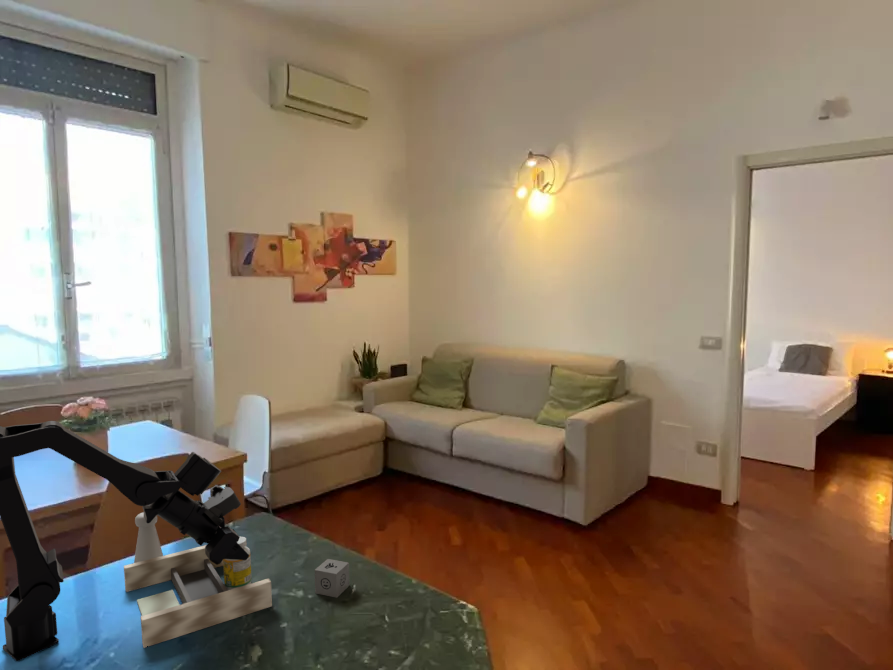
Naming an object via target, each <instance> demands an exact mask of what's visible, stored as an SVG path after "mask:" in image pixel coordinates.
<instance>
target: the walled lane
mask: <svg viewBox="0 0 893 670" xmlns="http://www.w3.org/2000/svg"><path fill="white" fill-rule="evenodd" d="M206 545H207V544H204V545H200V546H197V547H193V548H190V549H185V550H181V551H177V552H173V553H169V554H166V555H163V556H161V557H157V558H153V559H149V560H145V561H141V562H137V563H134V562H133V563H130V564H125V565H123V573H124V575H123V576H124V590H125V592H126V593H128V592H132V591H135V590H139V589H143V588H146V587H150V586H154V585H157V584H161V583H165V582H169V581H171V582H172V584H173V587H174V589H175V590H176V592H177V595H178V596H179V599H180V601H181V603H182V604H180V602H179V601H178V599H177V598H178V597H177V596H176V594H175V592H174V590H173V589H170V590H167V591H162V592H159V593H156V594H153V595H149V596H145V597H142V598H138V599H136V603H137V605H138V606H137V607H138V609H139V612H140V615H141V616H140V628H141V640H142V641H141V643H142V646H143V648H144V649H145V648H147V646H148V647H150V646H154V645H158V644H160V643H162V642H166V641H170V640H172V639H175V638H179V637H181V636H185V635H188V634H190V633H194V632H197V631H200V630H203V629H207V628H210V627H213V626H215V625H218V624H222V623H224V622H228V621H230V620H234V619H237V618H240V617H243V616H246V615H249V614H252V613H255V612H259V611H261V610H265V609H267V608H270V607H273V601H272V599H273V598H272V597H273V595H272V581H271V579H270V578H269V577H268V578H265V579H262V580H258V581H256V582H251V584H248V585H245V586H241V587H238V588H235V589H231V590H228V589H227V588H226V586H225V585H224V580H222V579H221V577H220V575H219V574H218V571H217V570H216V568H220V567H224V566H223V560H222V562H221V563H220V564H218V565H216V564H215V563H213V562H212V561H210V560H209V558H208V557H207V555H206V554H205V547H206Z"/></svg>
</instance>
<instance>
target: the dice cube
mask: <svg viewBox="0 0 893 670" xmlns="http://www.w3.org/2000/svg"><path fill="white" fill-rule="evenodd" d="M349 586H350V563H349V562H347V561H341V560H337V559H331V558H327V559H326V560H325V561H323V562H322V563H321V564H320V565H319V566H317V567H316V568H315V569H314V593H315V594H317V595H322V596H327V597H331V598H336V599H338V597H339V596H340V595H341V594H342V593H344V592H345V591H346V590H347V588H348V587H349Z"/></svg>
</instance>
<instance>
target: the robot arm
mask: <svg viewBox="0 0 893 670" xmlns="http://www.w3.org/2000/svg"><path fill="white" fill-rule="evenodd" d="M62 424H63V423H61V422H59V421H56V420H49V421H44V422H39V423H28V424H15V425H9V426H1V425H0V520H1V522H2V526H3V529H4V532H5V534H6V537H7V539H8V543H9V545H10V548H11V551H12V554H13V556H14V559H15V563H16V573H17V583H18V584H17V585H16V586H15V588H13V590H11V592H9V594H8V595H7V597H6V614H5V616H4V617H3V623H4V634H5V635H4V636H5V644H3V645H2V650H3V651H4V652H5V653H6V654H8V655H9V656H10V657H11V658H12V659H13V660H14V661H15V662H19V661H22V660H25V659H26V658H28V657H30V656H33V655H35V654H37V653H39V652H41V651H44V650H45V649H48V648H50V647H53V646H55V645H57V644H58V643H60V639H59V638H57V637H56V636H57V635H58V626H57V625H58V624H57V614H56V612H54V611H53V606H52V605H51V604H53V603H54V602H55V601H56V600H57V599H58V597H59V595H60V594H61V583H64V582H65V580H64V573H63V571H64V570H63V566H62V565H61V563H59V561H58V559H57V552H56V548H53V549H51V550H48V551H46V549H44V548H43V546H42V545H41V542H40V539H39V537H38V534H37V531H36V529H35V525H34V523H33V520H32V517H31V514H30V512H29V509H28V506H27V503H26V500H25V497H24V494H23V491H22V489H21V486H20V483H19V480H18V477H17V475H16V467H15V466H16V465H15V458H17V457H20V456H24V455H27V454H28V455H29V454H30V453H33V452H37V451H41V450H45V449H50V450H52V451H54V452H55V453H58V454H59V455H61V456H63V457H64V458H67V459H69V460H71V461H72V462H74V463H76V464H77V465H79V466H81V467H82V468H85V469H87V470H89V471H90V472H92V473H94V474H95V475H98V476H99V477H101V478H103V479H104V480H106V481H108V483H110V484H112V485H113V486H114V488H115V489H117V490H118V491H119V492H120V493H121V494H122V495H123V496H124V497H126V498H127V499H128V500H129V501H130V502H132V503H133V504H134V505H136V506H138V507H141V508H142V509H143V512H144V518H145V521H146V523H150V522H151V521H152V520H153V519H154V518H155V517H156V515H157V517H159V518H161V519H162V520H164V521H165V522H166V523H169V524H170V525H172V526H173V527H175V528H176V529H178V531H179V533H180V534H182V535H183V536H185V535H187V536H189V537H190V538H192V539H193V540H194V541H195V543H196V544H198V545H200V546H203V544H204V543H205V545H206V547H205V554H206V555H207V557H208V558H209V560H210V561H212V562H213V563H215V564H216V565H218V564H220V563H221V562H222V560H223V559H235V560H247V558H248V557H249V554H248V553H247V552H246V551H245V550H244V549H243V548H242V547H241V546H240V545H239V544H238V543H237V542H238V541H239V538H240V537H239V536H240V535H239V534H238V533H237V532H236V531H235V529H234V528H233V529H232V528H231V526H227V525H226V523H225V519H226V518H225V516H226V515H228V514H229V513H231V512H232V511H233V510H237V509H238V508H239V507H241V505H242V503H241V501H240V499H239V498H238V496H237V495H236V492H235V491H234V490H233V489H232V488H231V487H229V486H224V487H222V486H221V485H217V484H215V485H214V486H212V487H211V488H210V491H209V493H210V494H209V495H210V496H209V497H207V499H208V500H206V501H204V502H202V501H201V500H196V499H195V500H194V499H193V498H191V497H189V496H188V495H186V494H185V493H184V492H186V493H187V494H189V495H190V496H192V497H193V496H194V497H195V496H199V495H203V494H204V492H206V490H207V489H208V488H209V486H210V485H212V483H213V482H214V481H215V479H217V478H218V476H219V475H220V473H221V472H222V470H221V469H220V468H218V467H217V466H216V465H215V464H213V462H211V461H209V460H208V459H207V458H206V457H202V456H201V455H199V454H197V453H196V452H195V451H192V452H190V454H189V455H188V456H187V458H186V459H185V461H183V464H181V465H180V466H179V467H178V468H177V469H176V471H175V472H174V471H173V470H158V471H157V470H155V471H154V470H153V469H151V468H150V467H146V466H143V465H141V464H138V463H136V462H131V461H128V460H123V459H120V458H119V457H116V456H115V455H113V454H111V453H110V452H108V451H106V450H105V449H103V448H101V447H99V446H97V445H95V444H94V443H93V442H91V441H90V440H87V439H85V438H84V437H82V436H80V435H78V434H77V433H75V432H74V431H72V430H70V429H68V428H66V427H64V425H62ZM180 489H182V490H183V491H184V492H182V491H181V490H180Z"/></svg>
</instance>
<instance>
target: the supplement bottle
mask: <svg viewBox="0 0 893 670" xmlns="http://www.w3.org/2000/svg"><path fill="white" fill-rule="evenodd" d="M239 537H240V538H239V541H238V542H237V543H238V544H239V545H240V546H241V547H242V548H243V549H244V550H245V551H246V552H247V553H248V554H249V557H248V558H247V560H235V559H223V566H222V567H223V583H224V585H225V586H226V588H227V589H228V590H231V589H235V588H238V587H241V586H245V585H248V584H252V580H253V579H252V560H251V559H252V558H251V556H252V555H251V554H252V553H251V549H250V548H249V547H248V546H247V545H248V544H247V537H245V536H240V535H239Z"/></svg>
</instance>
